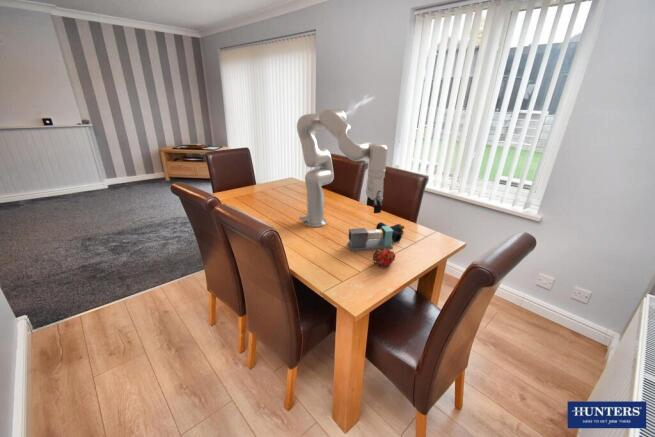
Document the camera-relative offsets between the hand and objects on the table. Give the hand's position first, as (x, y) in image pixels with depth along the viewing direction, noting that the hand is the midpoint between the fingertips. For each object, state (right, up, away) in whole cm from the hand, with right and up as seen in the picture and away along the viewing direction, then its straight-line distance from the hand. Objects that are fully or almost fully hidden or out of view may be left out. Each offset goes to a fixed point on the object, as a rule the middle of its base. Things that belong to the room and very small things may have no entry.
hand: (373, 209), depth 129 cm
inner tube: (-2, -14, +6) cm, 15 cm away
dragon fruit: (+3, -25, -6) cm, 26 cm away
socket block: (+8, -17, +9) cm, 21 cm away
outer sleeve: (-7, -18, +6) cm, 20 cm away
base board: (0, -18, +8) cm, 20 cm away
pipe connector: (+14, -14, +21) cm, 29 cm away
